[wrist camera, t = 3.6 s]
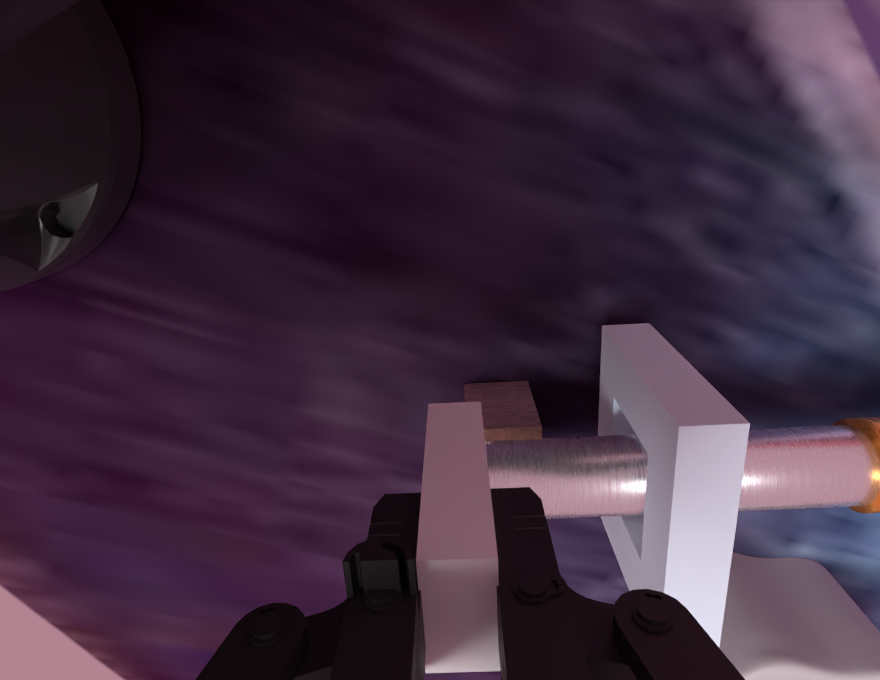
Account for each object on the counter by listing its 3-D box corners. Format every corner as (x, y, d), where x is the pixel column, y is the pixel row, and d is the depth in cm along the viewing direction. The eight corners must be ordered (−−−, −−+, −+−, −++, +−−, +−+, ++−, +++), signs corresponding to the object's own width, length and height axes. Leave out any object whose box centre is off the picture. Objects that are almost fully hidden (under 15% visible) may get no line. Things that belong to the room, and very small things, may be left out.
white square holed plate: (595, 503, 28) (657, 663, 20) (601, 325, 25) (678, 426, 17) (637, 501, 28) (717, 661, 20) (649, 323, 25) (750, 423, 17)
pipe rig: (466, 442, 29) (473, 548, 22) (463, 376, 28) (469, 466, 21) (968, 420, 28) (1148, 522, 21) (987, 352, 27) (1184, 435, 20)
